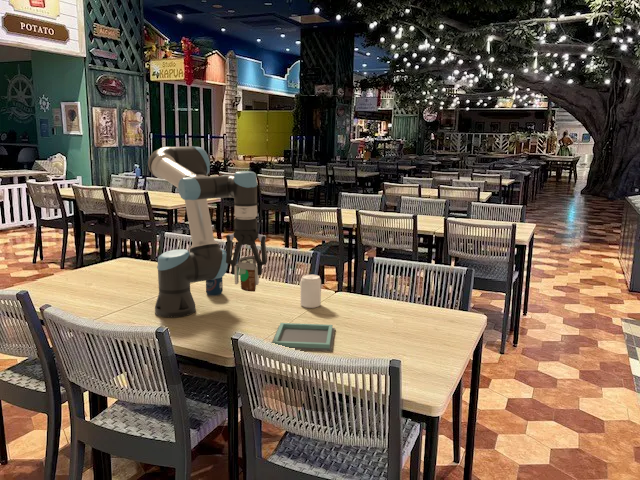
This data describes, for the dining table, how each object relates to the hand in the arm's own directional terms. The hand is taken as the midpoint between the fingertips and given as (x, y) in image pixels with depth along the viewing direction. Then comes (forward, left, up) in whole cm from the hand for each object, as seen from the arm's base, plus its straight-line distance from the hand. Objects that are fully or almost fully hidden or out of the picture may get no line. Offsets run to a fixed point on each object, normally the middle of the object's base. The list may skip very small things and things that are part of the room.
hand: (246, 283), depth 196 cm
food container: (0, 0, -2) cm, 2 cm away
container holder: (+20, -6, -17) cm, 27 cm away
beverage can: (+19, +30, -17) cm, 40 cm away
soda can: (-23, +41, -17) cm, 50 cm away
